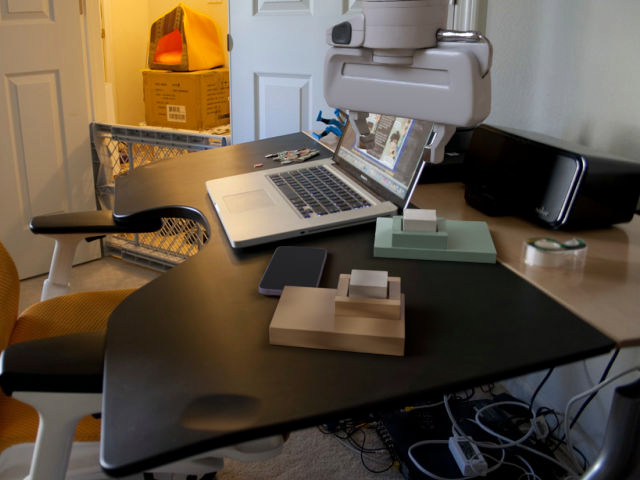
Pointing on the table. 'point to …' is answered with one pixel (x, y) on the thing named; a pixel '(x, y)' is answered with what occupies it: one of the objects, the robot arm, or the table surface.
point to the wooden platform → (340, 319)
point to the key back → (419, 220)
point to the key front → (368, 284)
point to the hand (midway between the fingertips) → (397, 154)
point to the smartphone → (293, 269)
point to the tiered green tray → (435, 241)
